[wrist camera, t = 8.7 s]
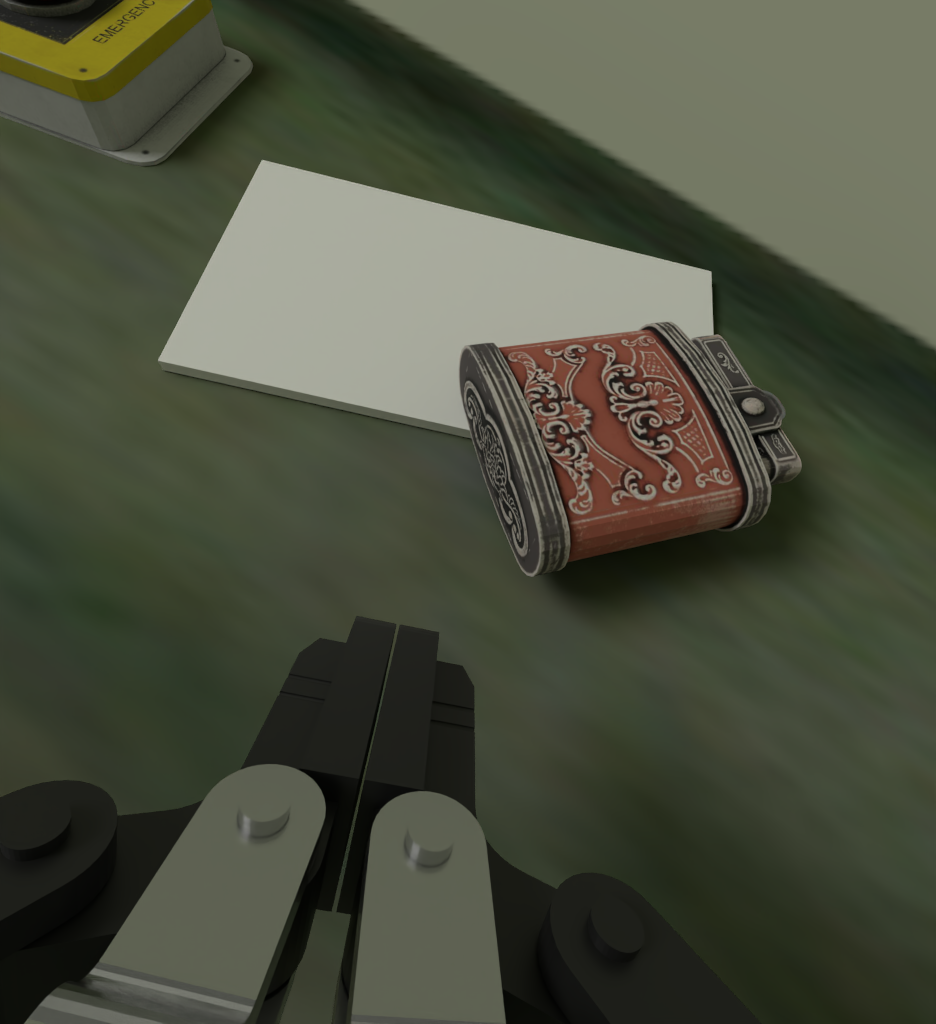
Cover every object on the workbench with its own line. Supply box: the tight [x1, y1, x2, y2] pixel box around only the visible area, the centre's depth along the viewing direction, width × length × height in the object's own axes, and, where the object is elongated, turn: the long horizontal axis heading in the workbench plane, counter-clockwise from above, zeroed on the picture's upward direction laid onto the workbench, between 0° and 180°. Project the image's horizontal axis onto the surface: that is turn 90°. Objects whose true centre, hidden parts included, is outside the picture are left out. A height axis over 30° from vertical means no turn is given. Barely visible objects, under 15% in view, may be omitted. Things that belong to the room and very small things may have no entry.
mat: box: [158, 160, 714, 439], centre depth 22 cm, size 11×20×1 cm, turn 81°
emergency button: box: [0, 0, 253, 166], centre depth 24 cm, size 9×4×15 cm
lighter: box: [459, 322, 802, 577], centre depth 19 cm, size 8×3×10 cm
